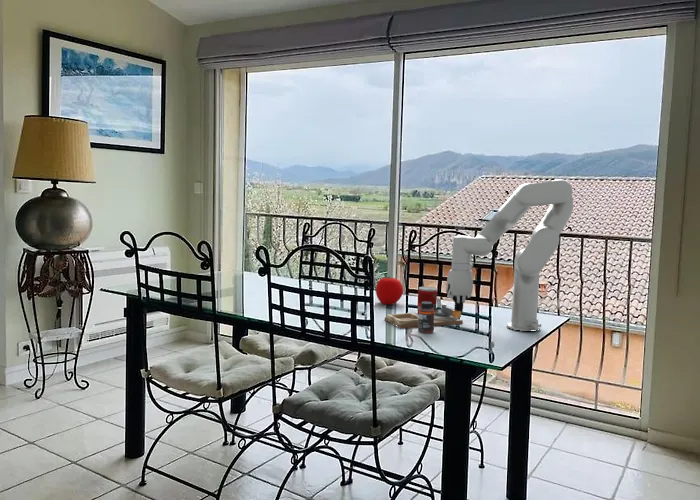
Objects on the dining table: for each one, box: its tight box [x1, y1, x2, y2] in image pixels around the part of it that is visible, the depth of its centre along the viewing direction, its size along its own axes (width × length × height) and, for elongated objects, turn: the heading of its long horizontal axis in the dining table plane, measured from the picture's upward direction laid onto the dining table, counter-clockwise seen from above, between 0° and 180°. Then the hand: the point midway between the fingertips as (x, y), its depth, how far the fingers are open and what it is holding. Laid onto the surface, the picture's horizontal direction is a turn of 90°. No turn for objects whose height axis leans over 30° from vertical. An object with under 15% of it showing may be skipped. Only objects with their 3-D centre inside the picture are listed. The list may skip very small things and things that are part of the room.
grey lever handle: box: [434, 303, 462, 319], centre depth 255 cm, size 15×7×4 cm, turn 23°
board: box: [384, 312, 464, 329], centre depth 256 cm, size 14×29×3 cm, turn 113°
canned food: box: [417, 286, 438, 314], centre depth 270 cm, size 8×8×11 cm
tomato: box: [375, 275, 404, 305], centre depth 288 cm, size 12×12×13 cm
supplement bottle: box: [417, 301, 435, 334], centre depth 240 cm, size 6×6×11 cm
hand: (458, 312), depth 254 cm, fingers closed
